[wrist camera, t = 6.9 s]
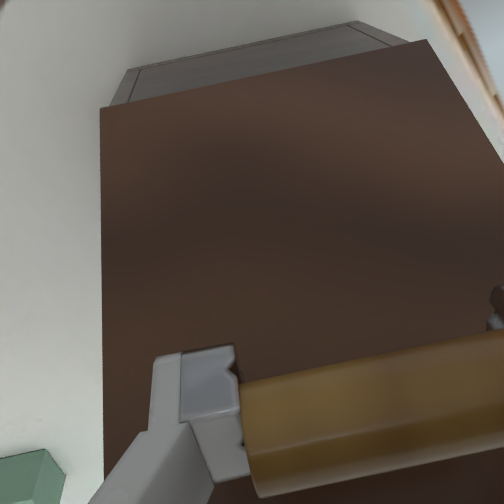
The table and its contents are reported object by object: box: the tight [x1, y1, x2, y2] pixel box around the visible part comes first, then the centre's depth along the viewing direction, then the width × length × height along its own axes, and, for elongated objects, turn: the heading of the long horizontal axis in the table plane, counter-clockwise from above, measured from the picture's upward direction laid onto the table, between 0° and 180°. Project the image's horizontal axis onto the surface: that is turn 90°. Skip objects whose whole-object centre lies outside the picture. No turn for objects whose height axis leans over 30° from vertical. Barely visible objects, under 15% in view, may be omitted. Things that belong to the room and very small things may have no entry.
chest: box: [109, 21, 410, 106], centre depth 25 cm, size 15×13×8 cm
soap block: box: [0, 449, 66, 504], centre depth 40 cm, size 4×4×4 cm
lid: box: [100, 39, 504, 504], centre depth 12 cm, size 15×13×5 cm
